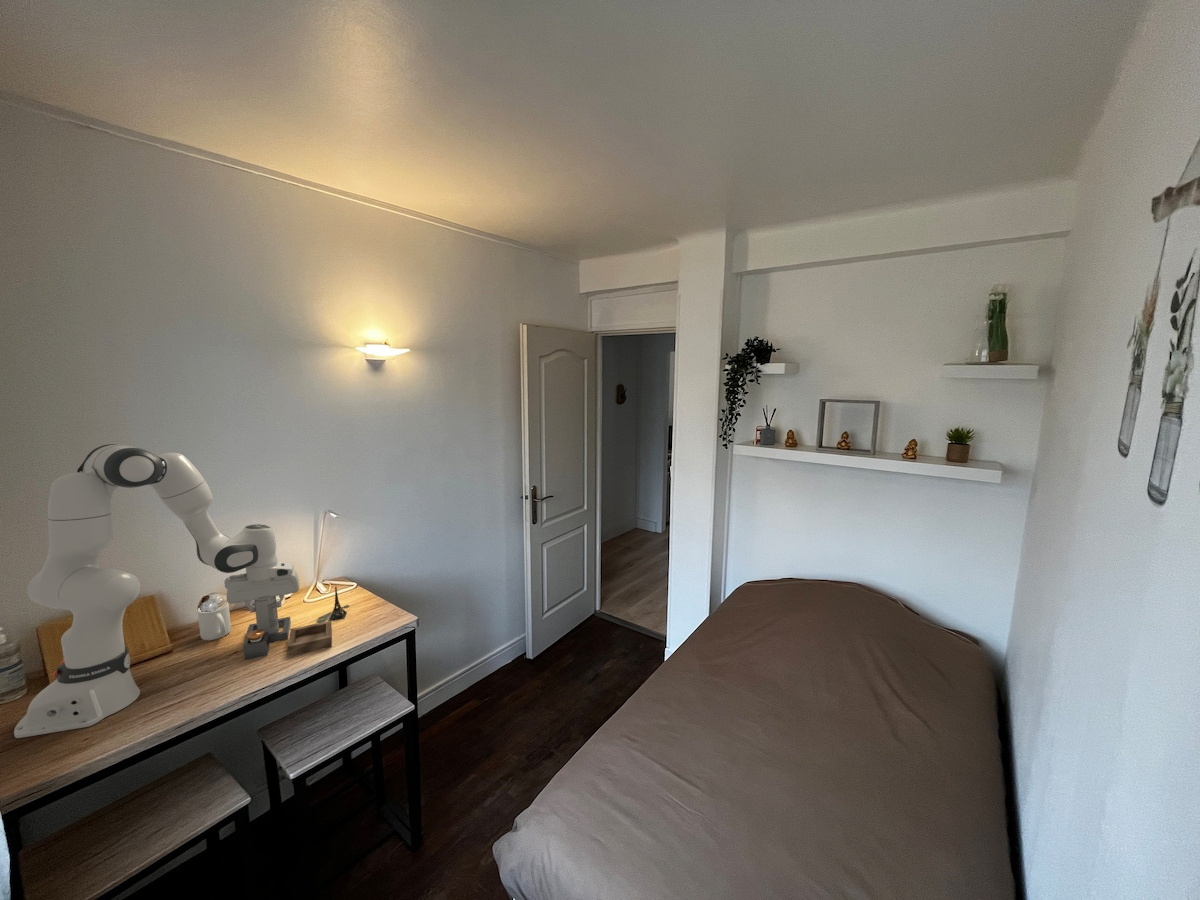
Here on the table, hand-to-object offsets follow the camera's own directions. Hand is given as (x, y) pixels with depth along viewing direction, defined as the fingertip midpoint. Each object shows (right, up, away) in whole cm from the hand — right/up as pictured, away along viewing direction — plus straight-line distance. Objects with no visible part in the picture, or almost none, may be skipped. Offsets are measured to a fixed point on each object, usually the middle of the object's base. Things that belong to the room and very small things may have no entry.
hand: (266, 609), depth 162 cm
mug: (-17, -10, 0) cm, 19 cm away
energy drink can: (0, -10, +2) cm, 10 cm away
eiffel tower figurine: (+16, -8, +15) cm, 24 cm away
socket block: (+2, -10, -2) cm, 10 cm away
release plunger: (+3, -10, -9) cm, 14 cm away
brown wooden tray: (+17, -10, -3) cm, 20 cm away
